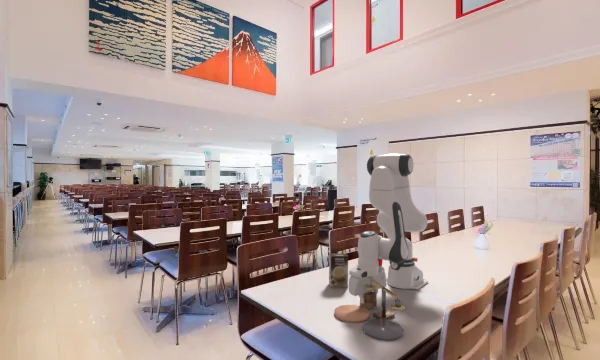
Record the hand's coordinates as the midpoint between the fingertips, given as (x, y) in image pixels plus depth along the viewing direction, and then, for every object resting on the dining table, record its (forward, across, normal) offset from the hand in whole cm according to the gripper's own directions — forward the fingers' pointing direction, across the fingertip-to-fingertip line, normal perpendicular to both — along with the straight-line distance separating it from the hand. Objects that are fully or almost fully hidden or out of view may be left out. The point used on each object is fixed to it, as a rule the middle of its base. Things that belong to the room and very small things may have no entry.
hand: (368, 301), depth 133 cm
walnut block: (+2, 0, 0) cm, 2 cm away
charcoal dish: (+2, +12, +18) cm, 22 cm away
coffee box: (+2, -7, -27) cm, 28 cm away
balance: (+2, +3, +11) cm, 12 cm away
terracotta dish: (+2, +12, +2) cm, 12 cm away
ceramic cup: (+2, -37, -32) cm, 49 cm away
